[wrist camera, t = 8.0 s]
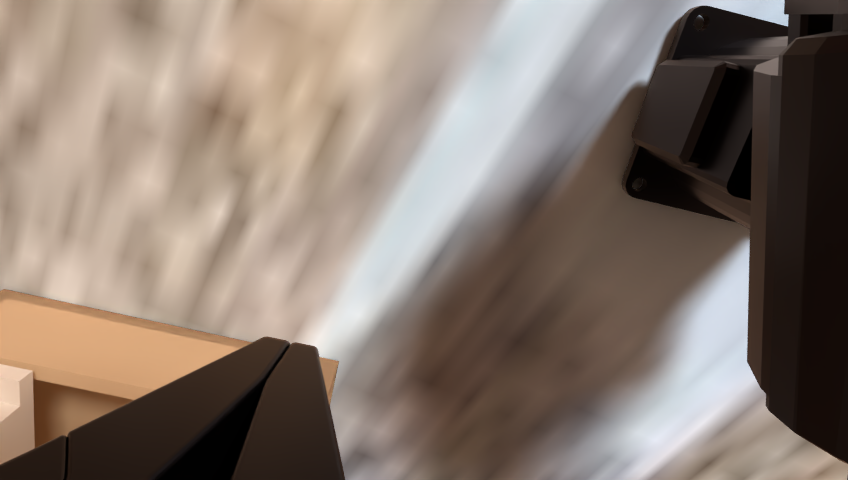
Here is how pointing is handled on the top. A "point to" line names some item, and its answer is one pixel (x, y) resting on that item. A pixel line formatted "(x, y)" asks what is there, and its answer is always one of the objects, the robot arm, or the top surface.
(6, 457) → the lid
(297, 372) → the robot arm
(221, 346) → the mailer box
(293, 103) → the top surface
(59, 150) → the top surface
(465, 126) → the top surface
